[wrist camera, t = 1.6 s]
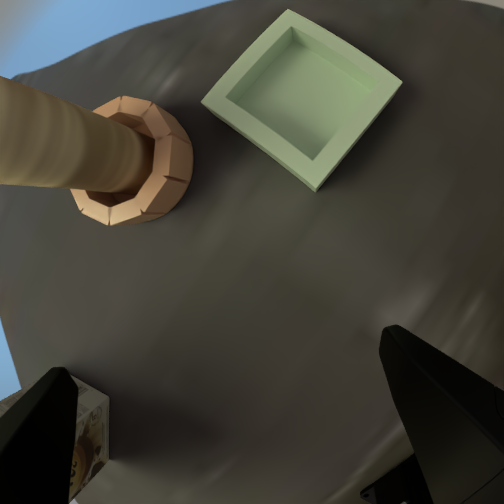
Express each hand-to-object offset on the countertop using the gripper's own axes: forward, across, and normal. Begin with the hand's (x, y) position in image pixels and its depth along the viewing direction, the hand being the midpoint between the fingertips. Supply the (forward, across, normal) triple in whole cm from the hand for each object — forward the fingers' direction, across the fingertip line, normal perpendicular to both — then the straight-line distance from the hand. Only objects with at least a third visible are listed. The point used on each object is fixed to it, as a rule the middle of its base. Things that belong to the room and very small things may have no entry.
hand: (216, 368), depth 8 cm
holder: (+16, +5, -3) cm, 16 cm away
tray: (+14, -6, -5) cm, 16 cm away
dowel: (+15, +5, -3) cm, 16 cm away
